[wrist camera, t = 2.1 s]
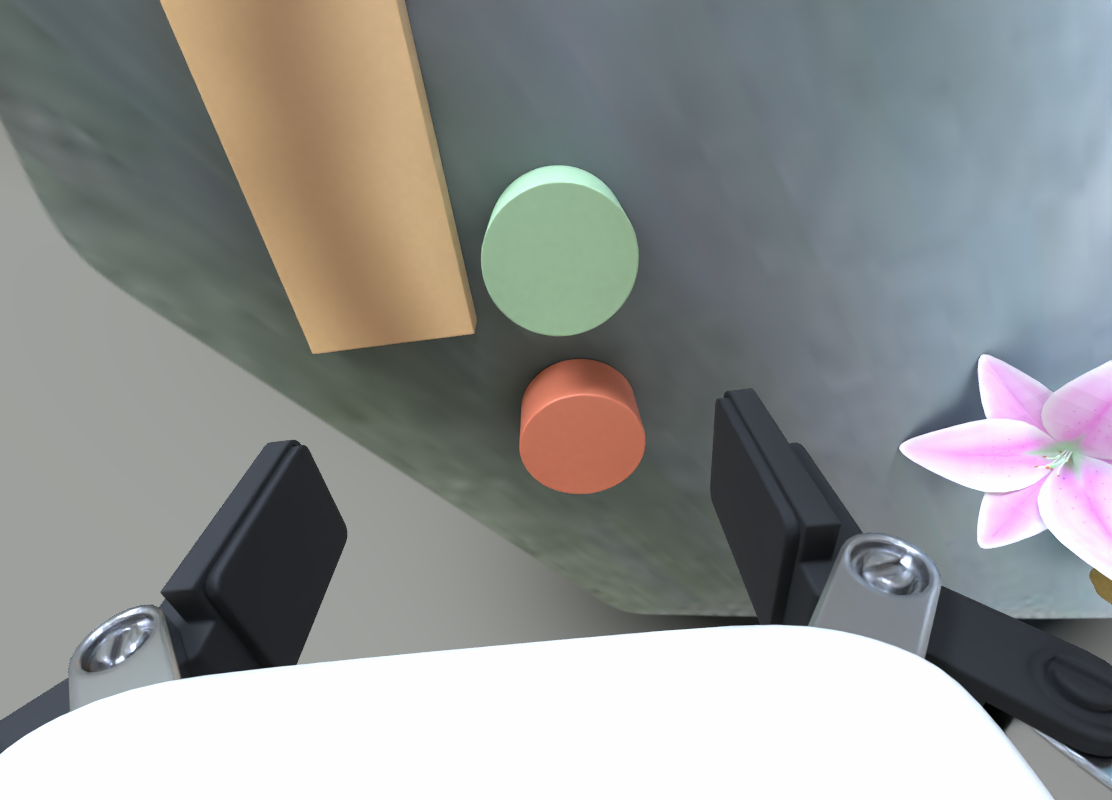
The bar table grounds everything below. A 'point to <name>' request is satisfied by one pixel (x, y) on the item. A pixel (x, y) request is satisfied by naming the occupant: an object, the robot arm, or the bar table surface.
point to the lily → (1034, 459)
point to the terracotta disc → (580, 427)
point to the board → (334, 162)
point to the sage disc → (559, 252)
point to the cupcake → (1102, 584)
